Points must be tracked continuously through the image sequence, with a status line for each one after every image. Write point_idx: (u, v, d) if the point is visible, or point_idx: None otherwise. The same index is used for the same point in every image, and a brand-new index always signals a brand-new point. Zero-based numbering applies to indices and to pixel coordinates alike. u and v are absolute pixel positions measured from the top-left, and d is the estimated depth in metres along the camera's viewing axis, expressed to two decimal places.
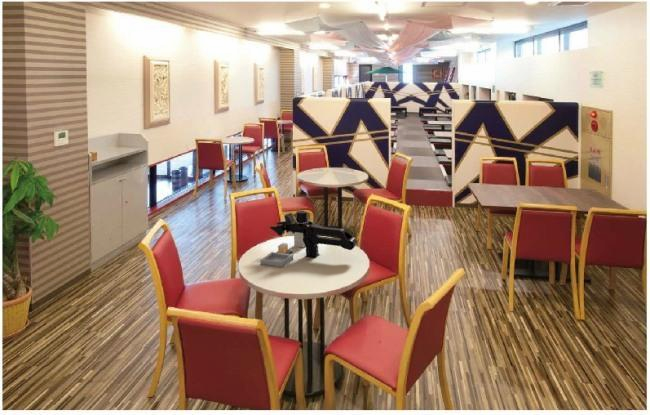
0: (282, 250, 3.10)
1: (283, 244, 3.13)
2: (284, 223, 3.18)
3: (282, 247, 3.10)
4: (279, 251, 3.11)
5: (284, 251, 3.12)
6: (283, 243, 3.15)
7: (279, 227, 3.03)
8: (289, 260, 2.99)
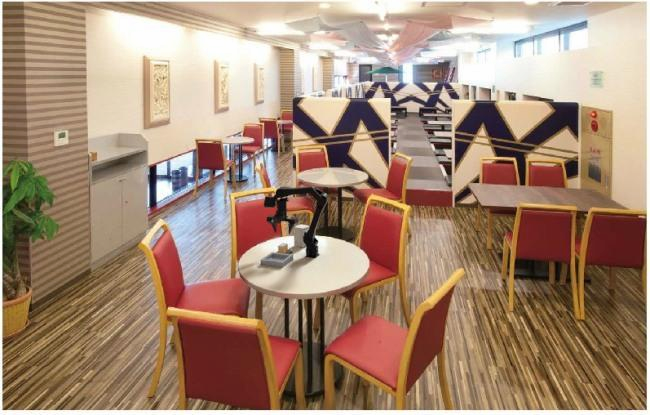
0: (282, 250, 3.10)
1: (283, 244, 3.13)
2: (274, 224, 3.11)
3: (282, 247, 3.10)
4: (279, 251, 3.11)
5: (284, 251, 3.12)
6: (283, 243, 3.15)
7: (294, 221, 3.04)
8: (289, 260, 2.99)
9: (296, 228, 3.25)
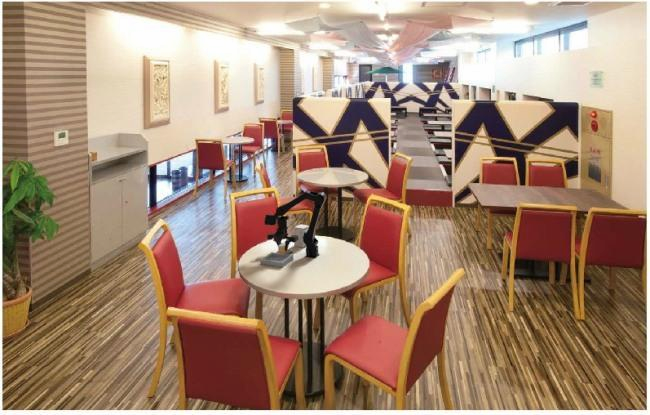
0: (282, 250, 3.10)
1: (283, 244, 3.13)
2: (279, 242, 3.13)
3: (282, 247, 3.10)
4: (279, 251, 3.11)
5: (284, 251, 3.11)
6: (283, 243, 3.15)
7: (295, 239, 3.06)
8: (289, 260, 2.99)
9: (296, 228, 3.25)
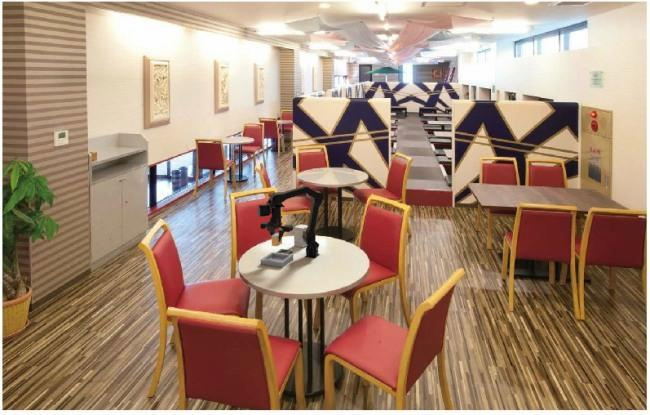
0: (276, 240, 2.96)
1: (277, 234, 2.99)
2: (273, 232, 2.99)
3: (276, 237, 2.95)
4: (272, 241, 2.97)
5: (278, 241, 2.97)
6: (277, 233, 3.01)
7: (289, 229, 2.92)
8: (289, 260, 2.99)
9: (296, 228, 3.25)
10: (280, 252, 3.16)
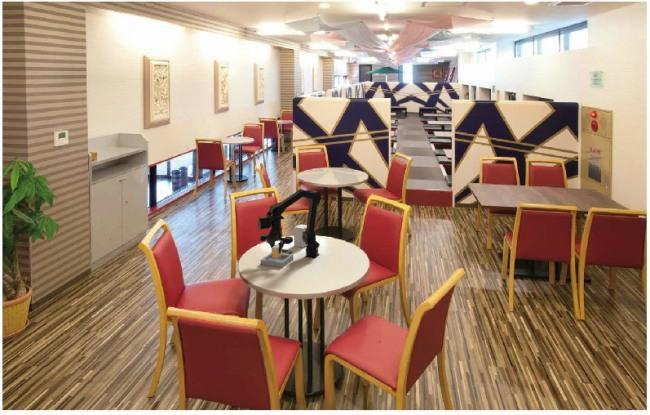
0: (276, 252, 2.96)
1: (277, 246, 2.99)
2: (273, 244, 2.99)
3: (276, 249, 2.95)
4: (273, 253, 2.97)
5: (278, 253, 2.97)
6: (277, 245, 3.00)
7: (289, 241, 2.92)
8: (289, 260, 2.99)
9: (296, 228, 3.25)
10: None
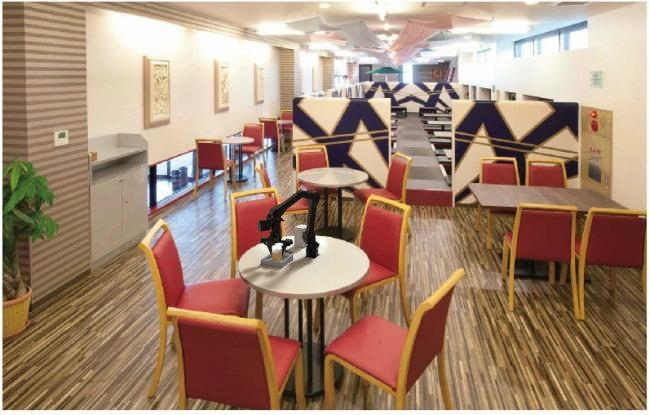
0: (276, 257, 2.96)
1: (277, 250, 2.99)
2: (270, 246, 2.99)
3: (276, 254, 2.96)
4: (273, 258, 2.97)
5: (278, 258, 2.98)
6: (277, 249, 3.01)
7: (289, 243, 2.92)
8: (289, 260, 2.99)
9: (296, 228, 3.25)
10: None
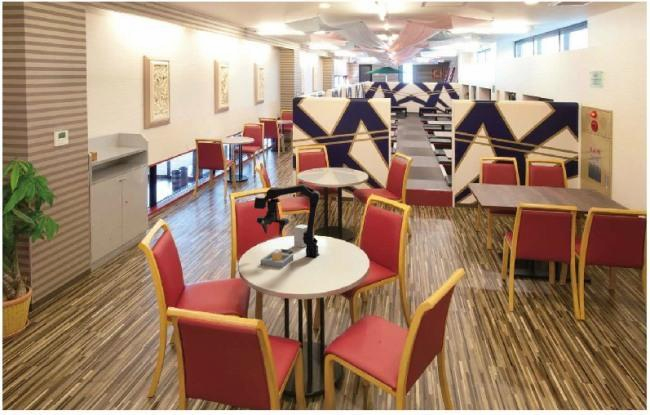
0: (276, 257, 2.96)
1: (277, 250, 2.99)
2: (265, 225, 3.09)
3: (276, 254, 2.96)
4: (273, 258, 2.97)
5: (278, 258, 2.98)
6: (277, 249, 3.01)
7: (285, 222, 3.02)
8: (289, 260, 2.99)
9: (296, 228, 3.25)
10: None
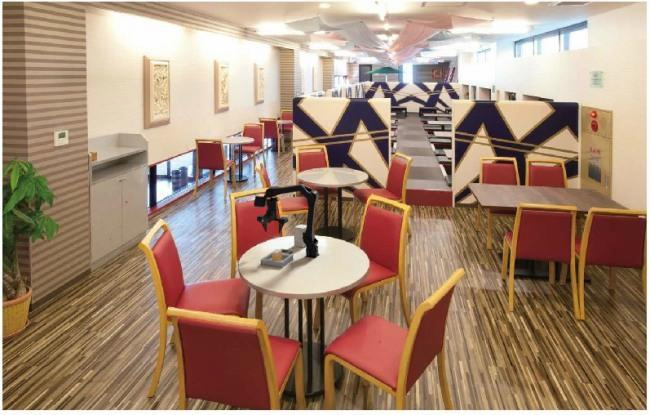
0: (276, 257, 2.96)
1: (277, 250, 2.99)
2: (265, 224, 3.13)
3: (276, 254, 2.96)
4: (273, 258, 2.97)
5: (278, 258, 2.98)
6: (277, 249, 3.01)
7: (284, 221, 3.05)
8: (289, 260, 2.99)
9: (296, 228, 3.25)
10: None
